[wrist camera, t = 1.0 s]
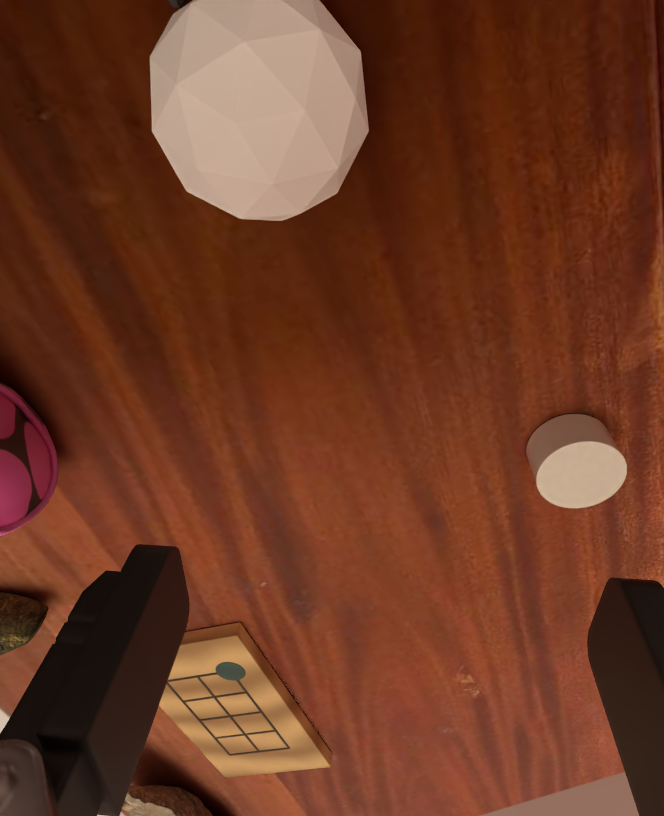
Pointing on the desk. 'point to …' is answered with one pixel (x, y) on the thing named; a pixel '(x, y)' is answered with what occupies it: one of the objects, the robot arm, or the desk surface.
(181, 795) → the stone tool
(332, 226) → the desk surface
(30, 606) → the decorative stone
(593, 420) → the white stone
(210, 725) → the game board
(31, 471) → the pencil case
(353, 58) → the geometric ball
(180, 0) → the knife
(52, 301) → the desk surface
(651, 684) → the robot arm
